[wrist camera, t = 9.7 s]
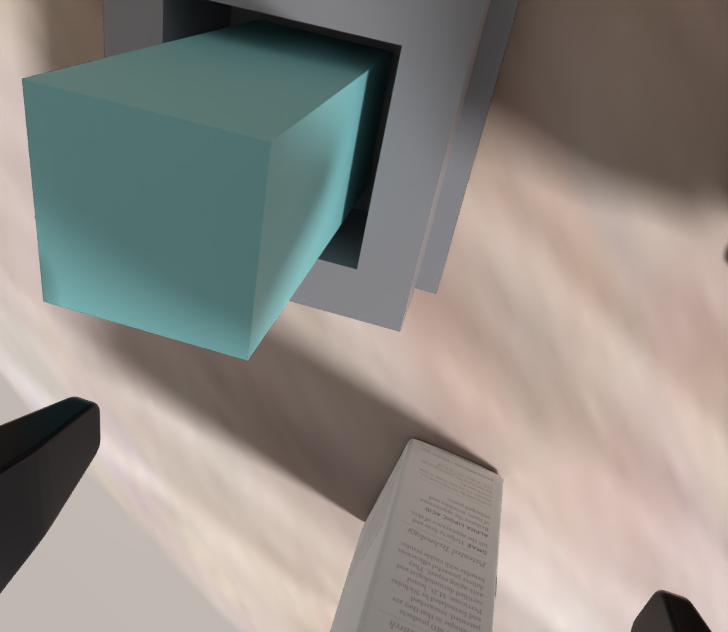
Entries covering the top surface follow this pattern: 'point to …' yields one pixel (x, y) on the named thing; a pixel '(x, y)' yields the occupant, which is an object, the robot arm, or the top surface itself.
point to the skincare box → (427, 549)
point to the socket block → (395, 134)
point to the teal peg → (200, 176)
